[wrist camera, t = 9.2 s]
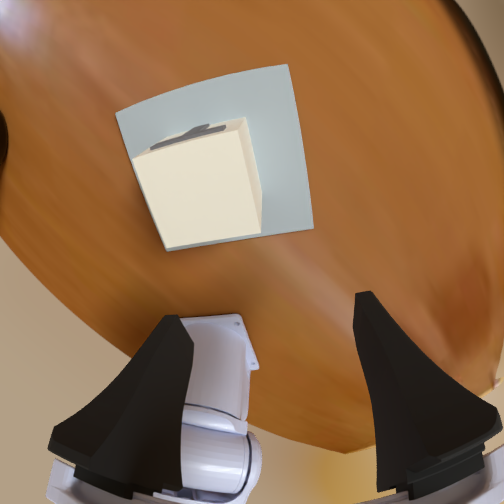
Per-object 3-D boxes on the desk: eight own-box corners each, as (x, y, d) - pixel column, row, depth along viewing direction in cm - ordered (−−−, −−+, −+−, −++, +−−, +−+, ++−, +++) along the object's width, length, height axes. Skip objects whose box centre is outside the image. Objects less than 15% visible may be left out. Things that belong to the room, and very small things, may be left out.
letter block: (262, 192, 17) (261, 233, 13) (188, 206, 18) (166, 248, 14) (245, 114, 14) (236, 126, 10) (165, 134, 15) (130, 155, 11)
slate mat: (313, 226, 19) (313, 228, 18) (167, 249, 20) (166, 251, 20) (287, 64, 13) (287, 64, 12) (117, 112, 14) (115, 112, 14)
